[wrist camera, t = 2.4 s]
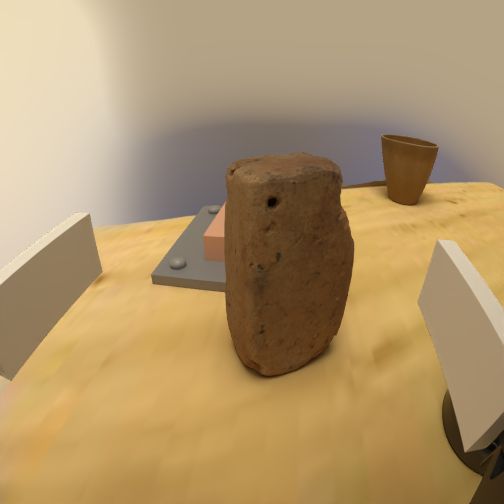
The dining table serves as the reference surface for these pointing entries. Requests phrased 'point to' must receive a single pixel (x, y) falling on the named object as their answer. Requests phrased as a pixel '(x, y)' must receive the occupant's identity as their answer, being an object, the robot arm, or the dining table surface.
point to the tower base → (197, 254)
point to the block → (285, 259)
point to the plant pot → (407, 166)
